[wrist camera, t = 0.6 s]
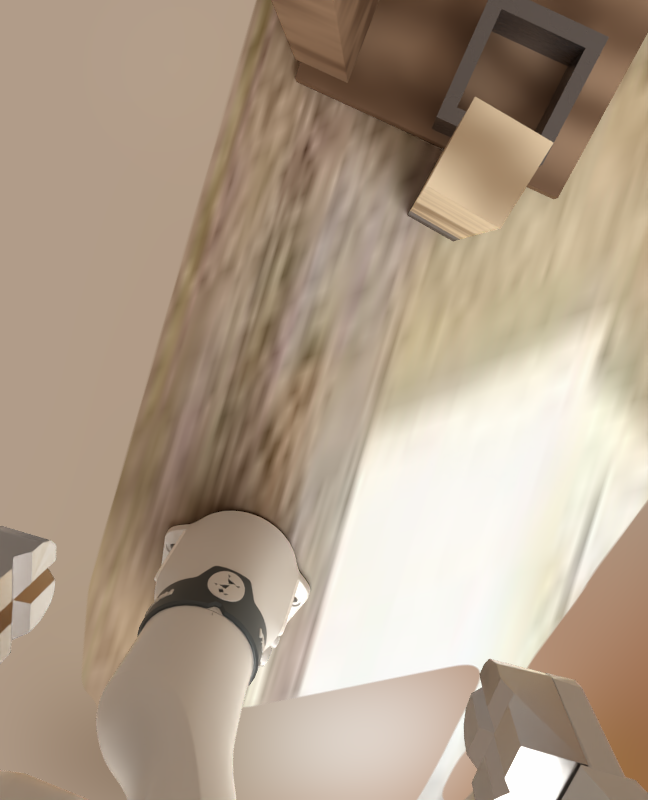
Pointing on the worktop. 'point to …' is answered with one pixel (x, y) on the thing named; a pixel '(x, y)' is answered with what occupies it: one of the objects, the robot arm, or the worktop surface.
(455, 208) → the rail bar
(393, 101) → the l-shaped wooden bracket
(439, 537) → the worktop surface
